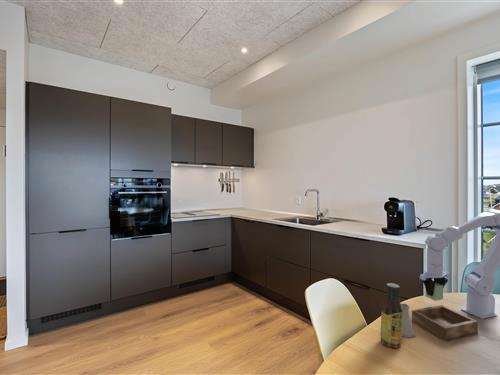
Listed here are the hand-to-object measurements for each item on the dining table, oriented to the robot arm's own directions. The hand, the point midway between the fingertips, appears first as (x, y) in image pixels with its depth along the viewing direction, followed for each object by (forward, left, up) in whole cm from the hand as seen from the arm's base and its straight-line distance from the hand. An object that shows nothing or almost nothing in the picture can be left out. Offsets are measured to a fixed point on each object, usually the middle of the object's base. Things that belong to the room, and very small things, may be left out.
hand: (434, 294), depth 114 cm
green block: (0, 0, -2) cm, 2 cm away
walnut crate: (+12, +13, -6) cm, 19 cm away
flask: (+29, +11, -6) cm, 32 cm away
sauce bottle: (+39, +15, -6) cm, 42 cm away
